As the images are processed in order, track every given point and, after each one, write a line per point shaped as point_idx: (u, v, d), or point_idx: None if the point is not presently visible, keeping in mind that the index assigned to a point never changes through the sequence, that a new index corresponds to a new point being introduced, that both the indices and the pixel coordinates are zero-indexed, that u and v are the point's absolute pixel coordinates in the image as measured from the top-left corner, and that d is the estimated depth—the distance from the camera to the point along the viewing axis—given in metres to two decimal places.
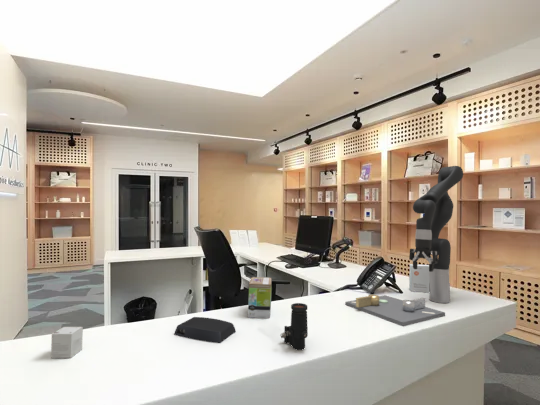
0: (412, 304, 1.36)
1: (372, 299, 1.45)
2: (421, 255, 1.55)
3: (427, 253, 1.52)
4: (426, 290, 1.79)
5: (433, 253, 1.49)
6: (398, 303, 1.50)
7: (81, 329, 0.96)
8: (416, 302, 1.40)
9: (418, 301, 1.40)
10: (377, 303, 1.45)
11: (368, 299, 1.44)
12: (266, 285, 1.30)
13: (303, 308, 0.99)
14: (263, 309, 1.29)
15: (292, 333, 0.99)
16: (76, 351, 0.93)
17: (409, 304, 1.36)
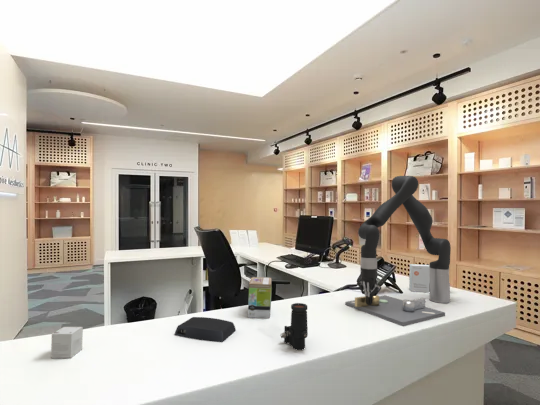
0: (412, 304, 1.36)
1: (372, 299, 1.45)
2: (366, 286, 1.42)
3: (371, 286, 1.39)
4: (426, 290, 1.79)
5: (375, 288, 1.37)
6: (398, 303, 1.50)
7: (81, 329, 0.96)
8: (416, 302, 1.40)
9: (418, 301, 1.40)
10: (377, 303, 1.44)
11: None
12: (266, 285, 1.30)
13: (303, 308, 0.99)
14: (263, 309, 1.29)
15: (292, 333, 0.99)
16: (76, 351, 0.93)
17: (409, 304, 1.36)
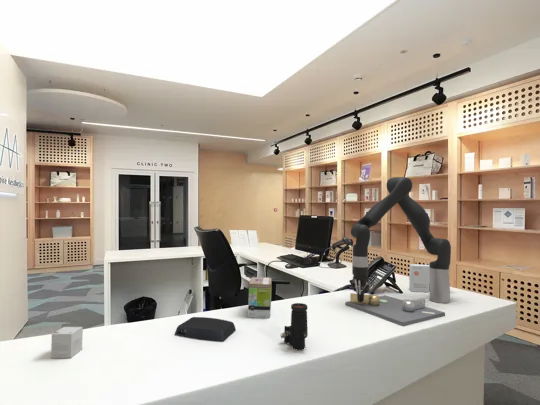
0: (412, 304, 1.36)
1: (368, 298, 1.46)
2: (358, 283, 1.46)
3: (362, 284, 1.44)
4: (426, 290, 1.79)
5: (366, 286, 1.42)
6: (398, 303, 1.50)
7: (81, 329, 0.96)
8: (416, 302, 1.40)
9: (418, 301, 1.40)
10: (373, 303, 1.45)
11: None
12: (266, 285, 1.30)
13: (303, 308, 0.99)
14: (263, 309, 1.29)
15: (292, 333, 0.99)
16: (76, 351, 0.93)
17: (409, 304, 1.36)
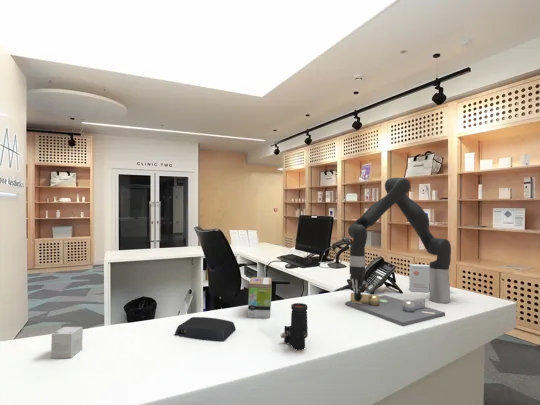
0: (412, 304, 1.36)
1: (368, 298, 1.47)
2: (355, 283, 1.48)
3: (359, 283, 1.46)
4: (426, 290, 1.79)
5: (363, 285, 1.43)
6: (398, 303, 1.50)
7: (81, 329, 0.96)
8: (416, 302, 1.40)
9: (418, 301, 1.40)
10: (372, 303, 1.45)
11: (363, 297, 1.48)
12: (266, 285, 1.30)
13: (303, 308, 0.99)
14: (263, 309, 1.29)
15: (292, 333, 0.99)
16: (76, 351, 0.93)
17: (409, 304, 1.36)
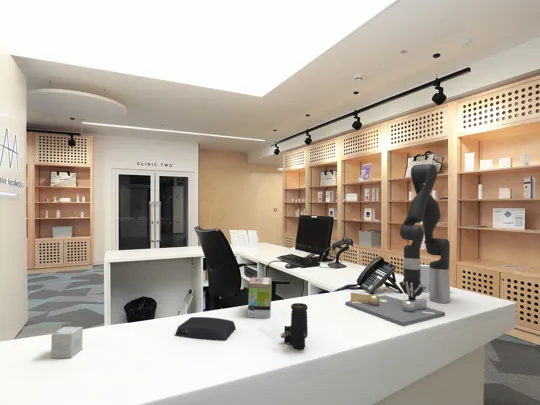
0: (412, 304, 1.36)
1: (368, 298, 1.47)
2: (410, 286, 1.43)
3: (415, 286, 1.41)
4: (426, 290, 1.79)
5: (420, 289, 1.38)
6: (398, 303, 1.50)
7: (81, 329, 0.96)
8: (417, 302, 1.39)
9: (419, 301, 1.40)
10: (372, 303, 1.45)
11: (363, 297, 1.48)
12: (266, 285, 1.30)
13: (303, 308, 0.99)
14: (263, 309, 1.29)
15: (292, 333, 0.99)
16: (76, 351, 0.93)
17: (409, 304, 1.36)
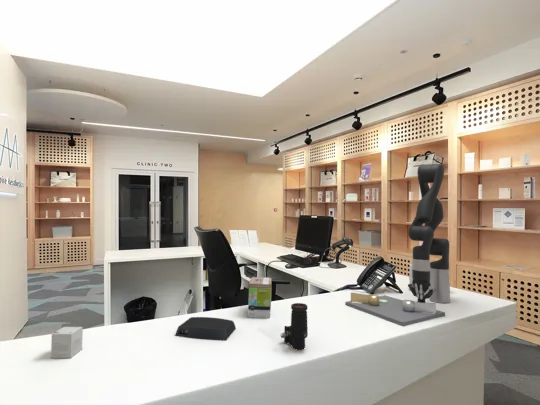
0: (407, 304, 1.36)
1: (368, 298, 1.47)
2: (419, 288, 1.39)
3: (424, 288, 1.37)
4: None
5: (430, 291, 1.34)
6: (398, 303, 1.50)
7: (81, 329, 0.96)
8: (419, 304, 1.36)
9: (423, 304, 1.35)
10: (372, 303, 1.45)
11: (363, 297, 1.48)
12: (266, 285, 1.30)
13: (303, 308, 0.99)
14: (263, 309, 1.29)
15: (292, 333, 0.99)
16: (76, 351, 0.93)
17: (404, 303, 1.37)
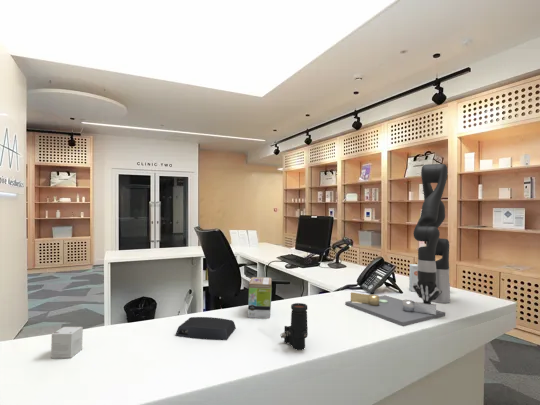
0: (406, 304, 1.36)
1: (368, 298, 1.47)
2: (425, 289, 1.37)
3: (430, 290, 1.34)
4: None
5: (436, 292, 1.32)
6: (398, 303, 1.50)
7: (81, 329, 0.96)
8: (419, 305, 1.35)
9: (423, 305, 1.34)
10: (372, 303, 1.45)
11: (363, 297, 1.48)
12: (266, 285, 1.30)
13: (303, 308, 0.99)
14: (263, 309, 1.29)
15: (292, 333, 0.99)
16: (76, 351, 0.93)
17: (404, 303, 1.37)
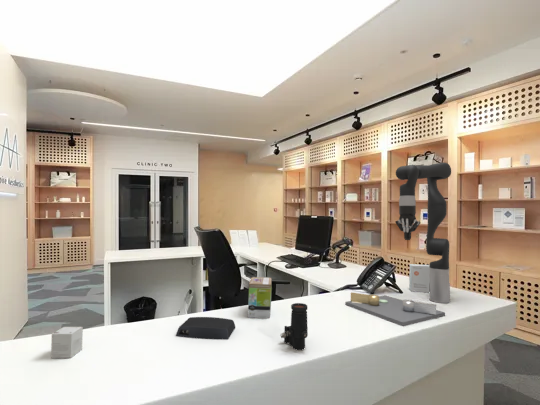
0: (406, 304, 1.36)
1: (368, 298, 1.47)
2: (405, 222, 1.50)
3: (410, 222, 1.48)
4: (426, 290, 1.79)
5: (415, 223, 1.45)
6: (398, 303, 1.50)
7: (81, 329, 0.96)
8: (419, 305, 1.35)
9: (423, 305, 1.34)
10: (372, 303, 1.45)
11: (363, 297, 1.48)
12: (266, 285, 1.30)
13: (303, 308, 0.99)
14: (263, 309, 1.29)
15: (292, 333, 0.99)
16: (76, 351, 0.93)
17: (404, 303, 1.37)
